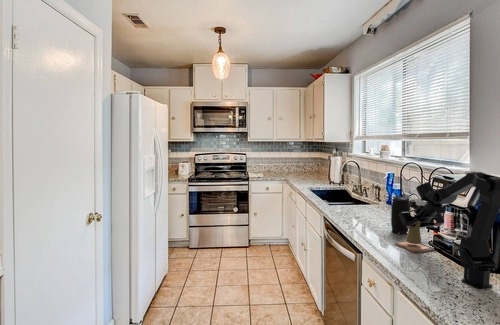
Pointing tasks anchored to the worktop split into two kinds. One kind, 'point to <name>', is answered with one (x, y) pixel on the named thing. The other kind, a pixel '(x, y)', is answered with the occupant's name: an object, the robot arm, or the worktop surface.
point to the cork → (414, 234)
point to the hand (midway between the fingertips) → (412, 227)
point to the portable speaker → (397, 207)
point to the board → (416, 246)
